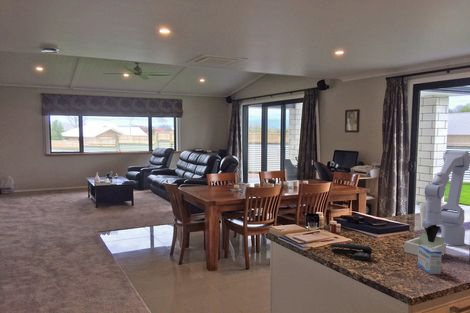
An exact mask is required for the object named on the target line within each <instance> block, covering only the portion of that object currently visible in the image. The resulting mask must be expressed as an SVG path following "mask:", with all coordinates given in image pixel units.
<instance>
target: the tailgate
mask: <svg viewBox="0 0 470 313" xmlns="http://www.w3.org/2000/svg"><path fill="white" fill-rule="evenodd" d="M420 238H421V239H420V243H419V244H421V245H429V246H431V247H436V246H438V245H441V244H444V240H445V238H442V237H441V236H437V235H436V237H435V240H434V242H429V241H428V237H427V233H424V232H422V233H421V235H420Z"/></svg>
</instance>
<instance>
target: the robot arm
mask: <svg viewBox="0 0 470 313" xmlns="http://www.w3.org/2000/svg"><path fill="white" fill-rule="evenodd" d="M442 158H443V164H442V167H441V169H440V171H439V172H437V173H436V174H435V175H434V177H433V179H432V180H431V182H430V183H428V184H427V185H426V186H425V188H424V195H425V199H424V200H425V201H426V202H425V203H426V217H425V219H424V220H423V221H424V222H423V223H422V226H421V228H422V227H424V228H425V229H424V231H425V232H426V233H425V234H427V237H428V241H429V242H434V240H435V237H436V236H437V234H438V232H439V231H440V232H441V233H440V237H442V238H445V240H444V244H446V246H448V247H452V246H454V247H455V246H466V245H467V244H466V243H465V238H466V237H465V236H466V230H465V228H464V226H463V224H464V223H465V210H464V209H463V208H462V206H460V200H461V199H460V198H461V196H462V190H463V182H464V177H465V172H466V171H469V169H470V152H469V151H468V150H467V151H461V150H460V151H458V150H457V151H456V150H445V152H444V153H443V157H442ZM450 174H451V179H450ZM449 181H450V184H449V188H448V195H447V201H446V203H444V204H443V205H442V199H443V198H444V197H445V194H446V189H447V188H446V187H447V185H448V183H449ZM439 225H441V226H439ZM440 229H441V230H440Z"/></svg>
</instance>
